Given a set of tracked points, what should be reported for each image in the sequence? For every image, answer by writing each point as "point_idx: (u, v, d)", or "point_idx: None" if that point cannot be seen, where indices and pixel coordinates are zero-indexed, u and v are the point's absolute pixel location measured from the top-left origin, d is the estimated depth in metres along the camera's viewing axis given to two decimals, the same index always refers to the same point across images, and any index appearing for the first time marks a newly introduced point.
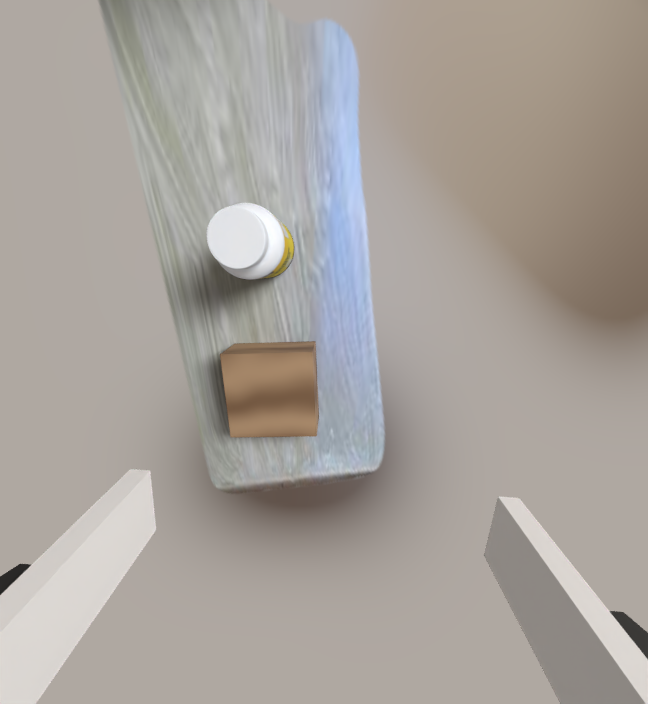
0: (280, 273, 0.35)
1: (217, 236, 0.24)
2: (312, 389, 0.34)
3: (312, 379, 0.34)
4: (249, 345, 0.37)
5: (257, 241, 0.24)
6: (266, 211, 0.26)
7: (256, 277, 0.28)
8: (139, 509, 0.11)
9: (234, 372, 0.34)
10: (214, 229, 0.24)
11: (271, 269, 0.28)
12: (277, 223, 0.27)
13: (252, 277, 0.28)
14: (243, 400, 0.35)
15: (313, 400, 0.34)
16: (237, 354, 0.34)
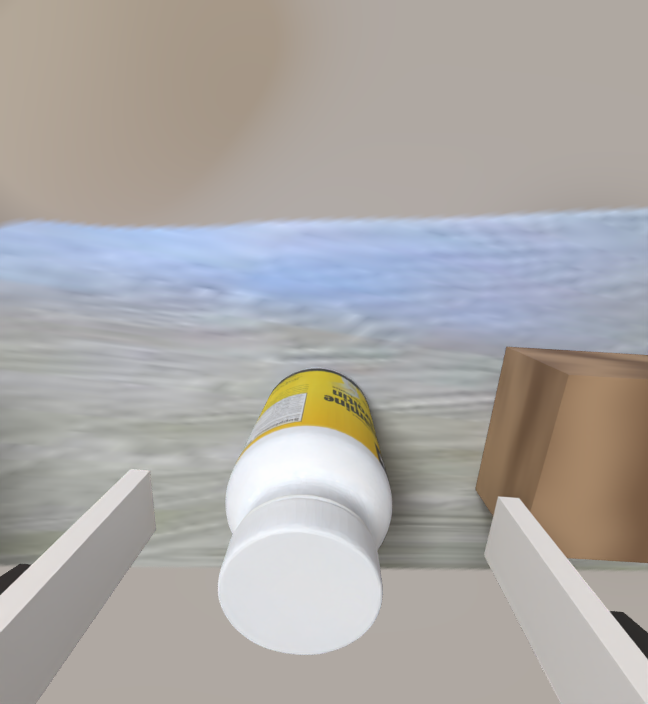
0: (366, 401, 0.18)
1: (291, 633, 0.09)
2: None
3: (638, 381, 0.14)
4: (490, 472, 0.19)
5: (314, 549, 0.08)
6: (244, 463, 0.11)
7: (390, 504, 0.12)
8: (139, 509, 0.11)
9: (565, 536, 0.16)
10: (273, 637, 0.09)
11: (377, 470, 0.11)
12: (272, 442, 0.11)
13: (390, 514, 0.12)
14: (633, 530, 0.16)
15: None
16: None
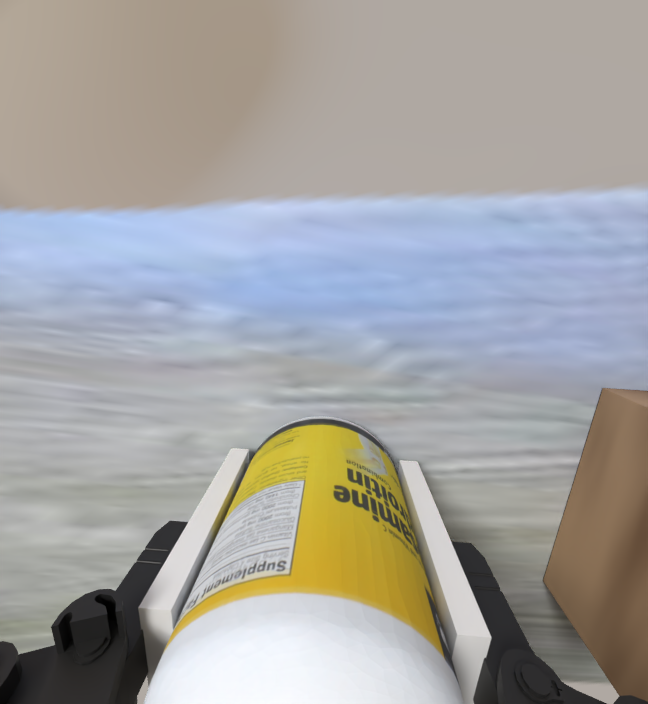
0: (394, 468, 0.12)
1: None
2: None
3: None
4: (573, 568, 0.13)
5: None
6: (169, 683, 0.05)
7: None
8: None
9: None
10: None
11: (447, 699, 0.05)
12: (226, 642, 0.05)
13: None
14: None
15: None
16: None
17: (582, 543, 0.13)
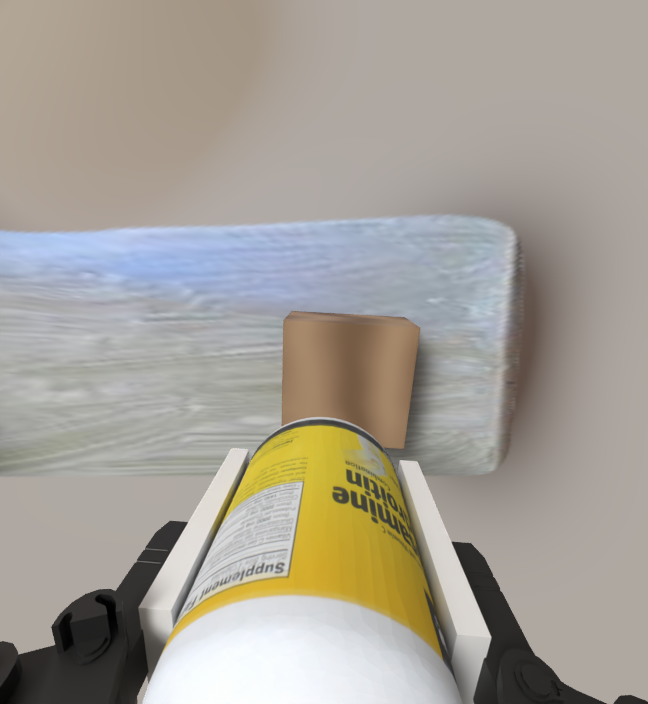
0: (393, 469, 0.12)
1: None
2: (341, 326, 0.23)
3: (325, 324, 0.23)
4: None
5: None
6: (166, 685, 0.05)
7: None
8: None
9: None
10: None
11: (446, 702, 0.05)
12: (224, 645, 0.05)
13: None
14: None
15: (359, 326, 0.23)
16: (282, 420, 0.25)
17: None
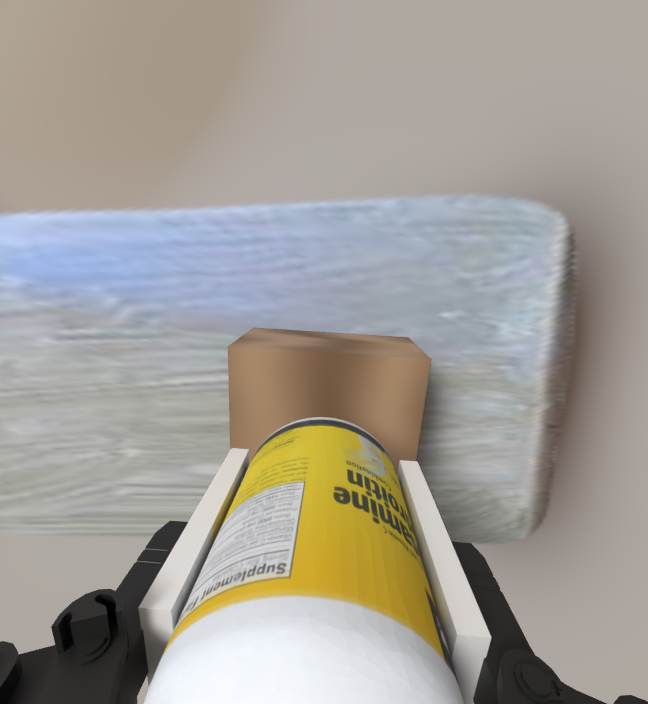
0: (394, 469, 0.12)
1: None
2: (313, 355, 0.15)
3: (290, 353, 0.15)
4: None
5: None
6: (168, 686, 0.05)
7: None
8: None
9: None
10: None
11: (448, 703, 0.05)
12: (226, 645, 0.05)
13: None
14: None
15: (340, 356, 0.15)
16: None
17: None
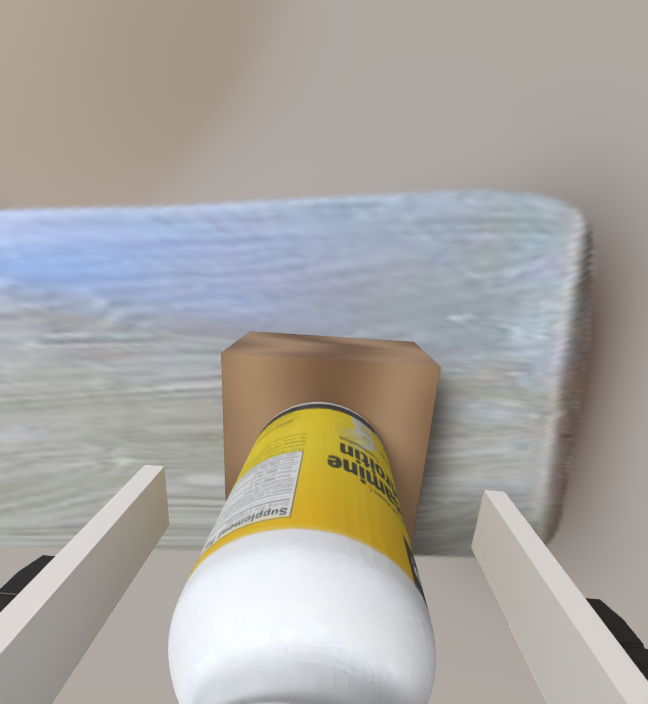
0: (383, 448, 0.14)
1: None
2: (313, 362, 0.14)
3: (288, 359, 0.14)
4: None
5: None
6: (194, 595, 0.07)
7: (434, 660, 0.07)
8: (154, 504, 0.11)
9: None
10: None
11: (414, 609, 0.07)
12: (240, 562, 0.07)
13: (433, 677, 0.07)
14: None
15: (342, 363, 0.14)
16: None
17: None
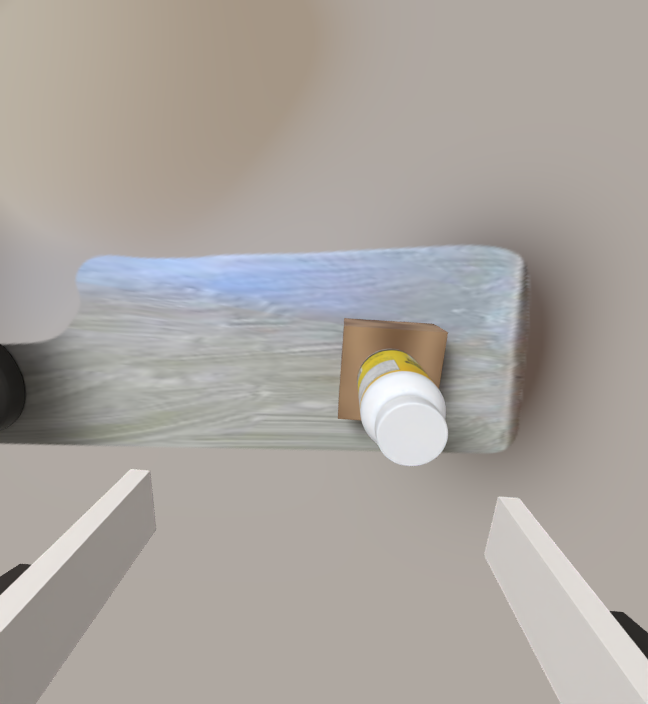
0: None
1: (406, 454, 0.21)
2: (388, 330, 0.30)
3: (376, 329, 0.30)
4: None
5: (420, 412, 0.20)
6: (374, 388, 0.23)
7: (445, 410, 0.23)
8: (139, 509, 0.11)
9: (358, 408, 0.33)
10: (398, 456, 0.21)
11: (439, 392, 0.23)
12: (388, 377, 0.23)
13: (445, 415, 0.23)
14: None
15: (401, 330, 0.30)
16: (339, 401, 0.33)
17: (340, 375, 0.36)
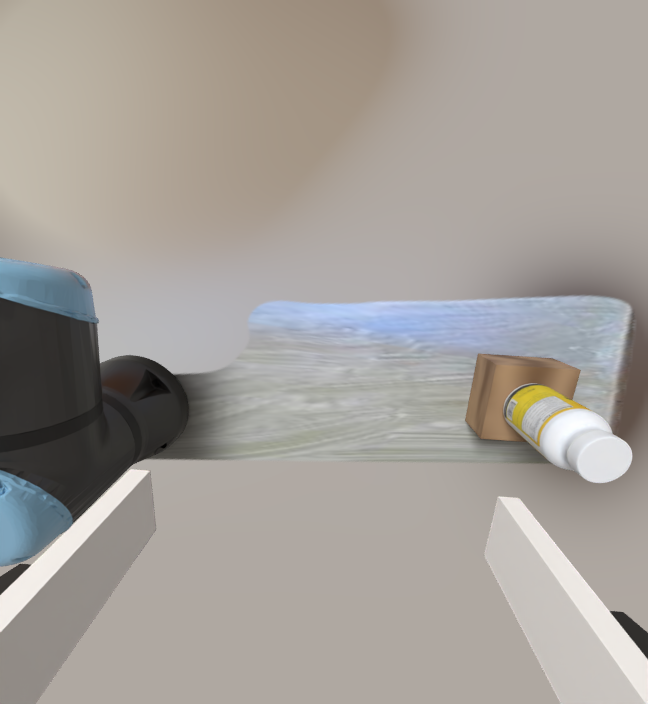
0: None
1: (598, 474, 0.28)
2: (531, 368, 0.37)
3: (522, 367, 0.37)
4: (471, 410, 0.43)
5: (614, 444, 0.27)
6: (559, 422, 0.30)
7: None
8: (139, 509, 0.11)
9: (499, 430, 0.40)
10: (591, 475, 0.28)
11: (608, 425, 0.30)
12: (570, 414, 0.30)
13: None
14: None
15: (542, 368, 0.37)
16: (483, 425, 0.40)
17: (473, 401, 0.43)
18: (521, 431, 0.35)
